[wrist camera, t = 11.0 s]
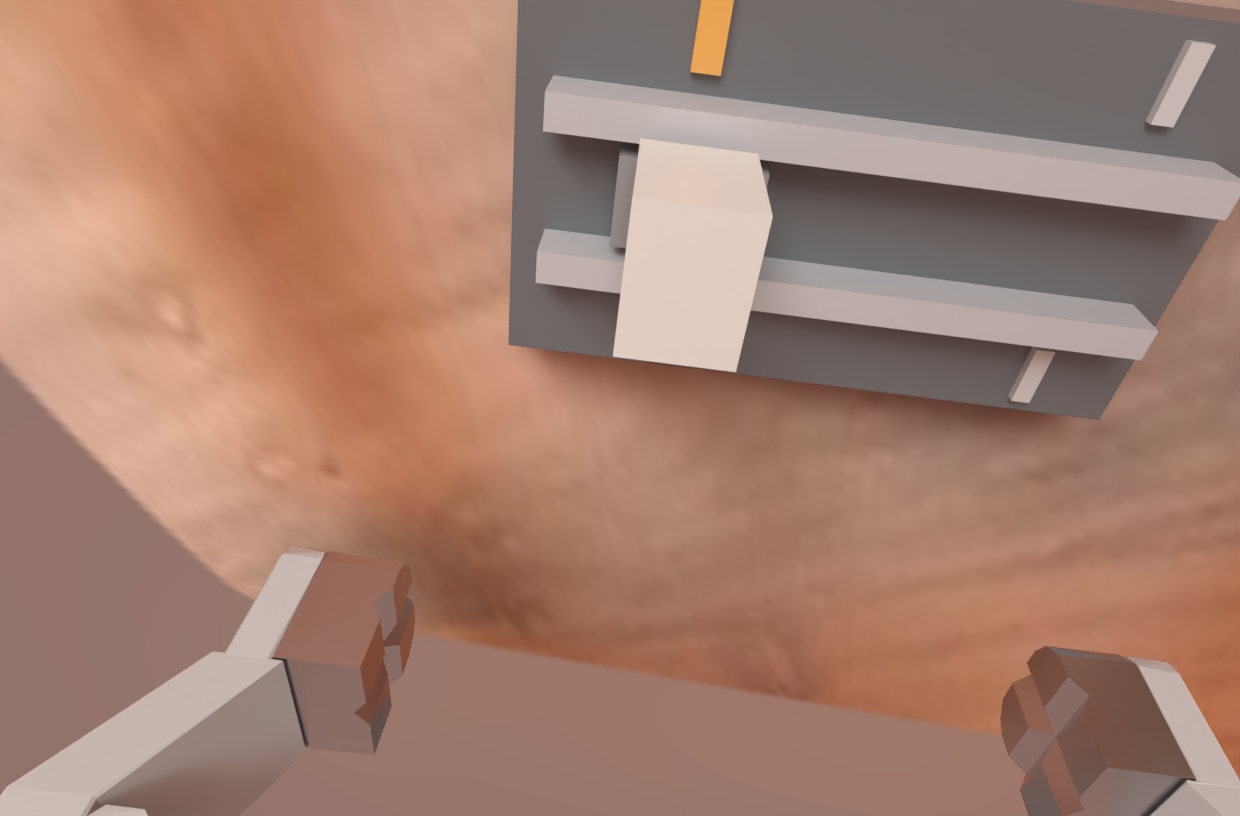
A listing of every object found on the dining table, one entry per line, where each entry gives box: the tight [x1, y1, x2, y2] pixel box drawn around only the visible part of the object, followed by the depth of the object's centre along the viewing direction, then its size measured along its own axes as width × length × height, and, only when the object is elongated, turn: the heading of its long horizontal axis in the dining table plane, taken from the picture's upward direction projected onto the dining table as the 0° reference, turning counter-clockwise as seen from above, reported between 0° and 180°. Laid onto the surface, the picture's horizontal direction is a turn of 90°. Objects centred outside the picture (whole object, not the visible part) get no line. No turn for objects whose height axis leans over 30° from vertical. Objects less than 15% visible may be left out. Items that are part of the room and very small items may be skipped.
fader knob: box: [609, 138, 773, 372], centre depth 20 cm, size 4×4×6 cm
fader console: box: [509, 0, 1240, 420], centre depth 23 cm, size 20×12×5 cm, turn 84°
